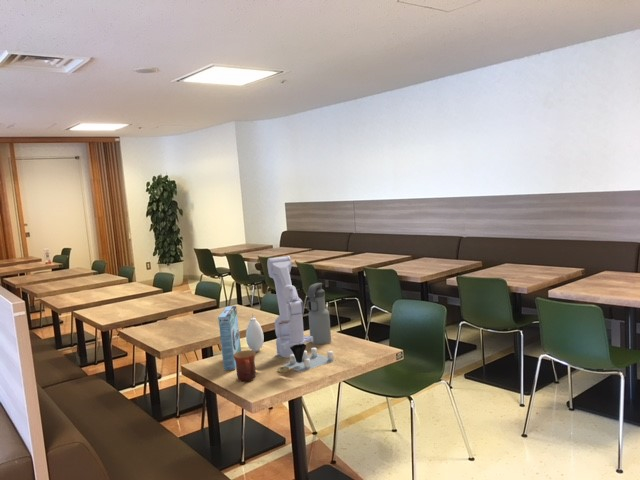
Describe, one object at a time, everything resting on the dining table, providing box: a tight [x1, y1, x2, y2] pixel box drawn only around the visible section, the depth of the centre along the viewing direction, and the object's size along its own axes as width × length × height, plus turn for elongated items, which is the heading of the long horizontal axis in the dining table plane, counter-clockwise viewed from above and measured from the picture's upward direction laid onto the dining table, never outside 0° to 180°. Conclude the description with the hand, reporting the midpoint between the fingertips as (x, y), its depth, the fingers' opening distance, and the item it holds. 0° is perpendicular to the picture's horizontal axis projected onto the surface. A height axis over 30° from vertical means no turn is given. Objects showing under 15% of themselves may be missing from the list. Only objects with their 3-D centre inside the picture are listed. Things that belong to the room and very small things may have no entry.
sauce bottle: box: [245, 313, 265, 352], centre depth 238 cm, size 8×8×18 cm
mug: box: [233, 349, 257, 383], centre depth 202 cm, size 12×9×10 cm
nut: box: [276, 365, 290, 374], centre depth 208 cm, size 5×4×2 cm
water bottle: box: [306, 282, 332, 345], centre depth 242 cm, size 10×10×28 cm
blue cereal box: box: [218, 305, 242, 371], centre depth 224 cm, size 19×5×23 cm, turn 0°
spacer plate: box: [282, 347, 336, 373], centre depth 215 cm, size 13×18×4 cm
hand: (299, 362), depth 212 cm, fingers closed
